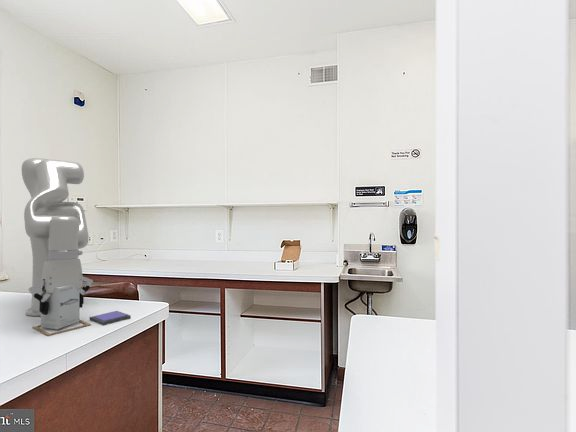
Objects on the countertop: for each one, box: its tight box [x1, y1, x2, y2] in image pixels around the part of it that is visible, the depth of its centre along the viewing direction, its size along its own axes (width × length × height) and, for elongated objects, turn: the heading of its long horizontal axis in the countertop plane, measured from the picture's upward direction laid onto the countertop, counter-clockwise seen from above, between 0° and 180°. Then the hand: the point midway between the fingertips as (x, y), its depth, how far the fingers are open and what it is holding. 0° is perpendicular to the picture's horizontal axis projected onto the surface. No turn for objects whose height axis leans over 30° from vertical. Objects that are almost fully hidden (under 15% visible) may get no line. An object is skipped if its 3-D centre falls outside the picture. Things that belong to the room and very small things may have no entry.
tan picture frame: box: [31, 318, 92, 337], centre depth 99 cm, size 12×12×1 cm
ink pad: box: [89, 310, 131, 326], centre depth 107 cm, size 9×9×1 cm
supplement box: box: [40, 285, 80, 330], centre depth 99 cm, size 7×7×13 cm
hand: (62, 310), depth 99 cm, fingers open, 9 cm apart
